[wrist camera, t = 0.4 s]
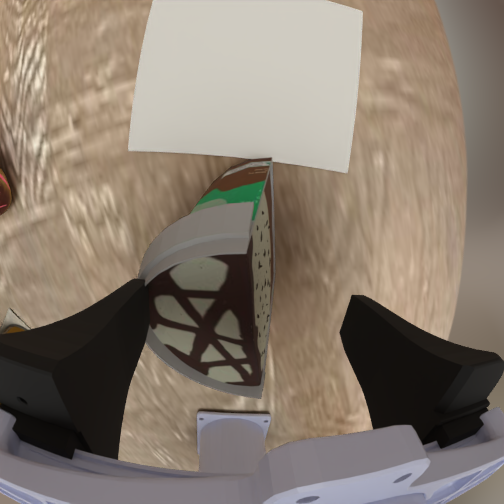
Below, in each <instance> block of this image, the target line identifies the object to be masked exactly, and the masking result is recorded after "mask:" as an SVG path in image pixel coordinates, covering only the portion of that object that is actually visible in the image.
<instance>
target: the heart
mask: <svg viewBox="0 0 504 504" xmlns="http://www.w3.org/2000/svg"><path fill="white" fill-rule="evenodd" d="M11 200H12V195H11V190H10V186H9V183H8V181H7V178H6V176H5V174H4V172H3V171H2V170H1V168H0V215H2V214H3V213H5V212H6V211H7V209H8V208H9V206H10V204H11Z"/></svg>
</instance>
